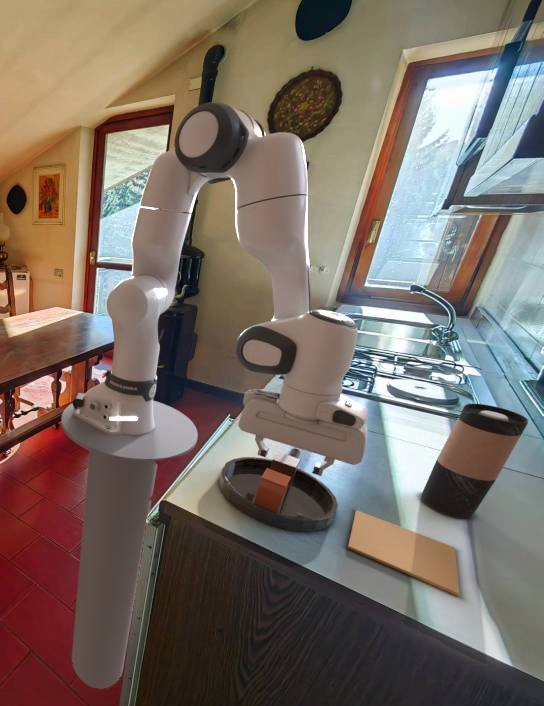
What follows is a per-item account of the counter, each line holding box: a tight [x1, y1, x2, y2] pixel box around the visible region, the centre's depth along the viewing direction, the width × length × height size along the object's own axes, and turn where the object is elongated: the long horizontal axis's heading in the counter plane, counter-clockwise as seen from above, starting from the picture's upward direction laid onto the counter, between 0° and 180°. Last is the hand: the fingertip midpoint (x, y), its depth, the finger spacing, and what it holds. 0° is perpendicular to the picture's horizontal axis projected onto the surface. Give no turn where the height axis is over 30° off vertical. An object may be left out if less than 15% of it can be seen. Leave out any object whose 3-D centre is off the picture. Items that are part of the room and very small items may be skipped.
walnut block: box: [270, 451, 301, 493], centre depth 78 cm, size 4×4×6 cm
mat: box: [347, 509, 460, 597], centre depth 64 cm, size 13×12×1 cm
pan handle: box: [287, 447, 301, 459], centre depth 85 cm, size 2×10×2 cm, turn 137°
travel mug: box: [420, 403, 529, 519], centre depth 71 cm, size 8×8×20 cm
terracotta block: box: [254, 468, 291, 513], centre depth 72 cm, size 4×4×6 cm
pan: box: [218, 456, 339, 533], centre depth 76 cm, size 19×19×2 cm
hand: (288, 464), depth 77 cm, fingers open, 8 cm apart
